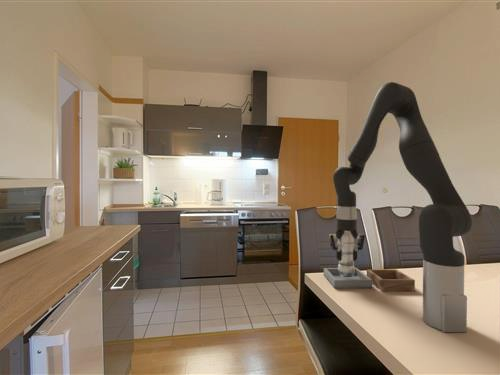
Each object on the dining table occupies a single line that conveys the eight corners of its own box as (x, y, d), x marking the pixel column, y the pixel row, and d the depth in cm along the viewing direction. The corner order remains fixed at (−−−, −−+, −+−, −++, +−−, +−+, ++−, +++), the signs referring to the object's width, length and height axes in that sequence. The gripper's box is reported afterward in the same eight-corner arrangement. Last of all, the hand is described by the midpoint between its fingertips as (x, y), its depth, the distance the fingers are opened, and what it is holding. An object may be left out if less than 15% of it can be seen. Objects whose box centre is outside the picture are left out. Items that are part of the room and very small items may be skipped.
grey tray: (372, 288, 99) (372, 280, 99) (334, 288, 99) (334, 280, 99) (356, 275, 113) (356, 268, 113) (323, 275, 113) (323, 268, 113)
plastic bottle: (352, 273, 109) (352, 224, 109) (357, 279, 102) (357, 227, 102) (335, 273, 109) (336, 224, 109) (339, 279, 103) (340, 227, 102)
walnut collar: (414, 291, 96) (414, 280, 96) (381, 291, 96) (381, 280, 96) (396, 279, 108) (396, 269, 108) (366, 279, 108) (366, 269, 108)
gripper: (331, 219, 102) (331, 263, 102) (368, 218, 102) (368, 263, 102) (325, 216, 109) (325, 257, 109) (360, 216, 109) (360, 257, 109)
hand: (346, 260), depth 106 cm, fingers closed on plastic bottle, 5 cm apart
